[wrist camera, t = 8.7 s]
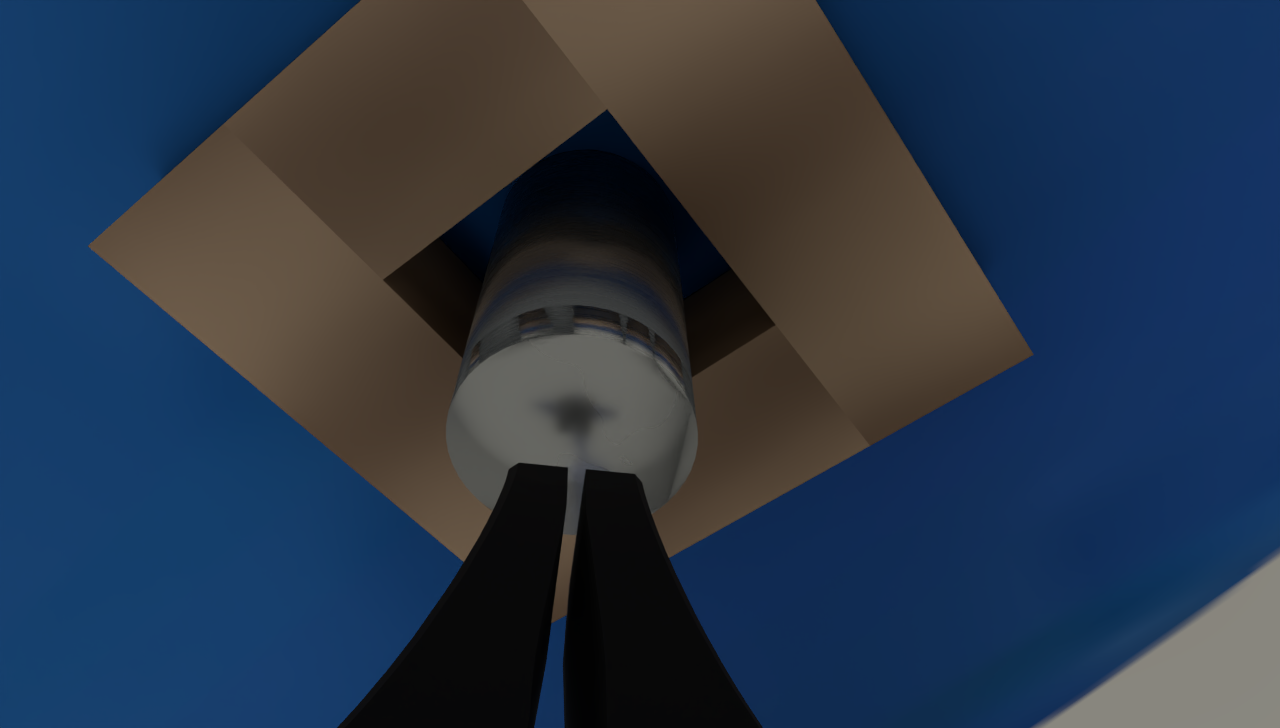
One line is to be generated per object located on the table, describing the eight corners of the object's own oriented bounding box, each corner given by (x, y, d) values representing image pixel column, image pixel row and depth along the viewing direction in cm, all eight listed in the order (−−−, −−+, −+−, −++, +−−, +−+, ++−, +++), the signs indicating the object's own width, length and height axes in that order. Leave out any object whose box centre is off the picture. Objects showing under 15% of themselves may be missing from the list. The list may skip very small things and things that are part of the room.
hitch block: (980, 281, 20) (1033, 354, 17) (550, 536, 24) (542, 627, 21) (647, -257, 15) (653, -264, 12) (160, 181, 18) (87, 246, 16)
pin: (708, 252, 19) (745, 464, 14) (571, 337, 21) (550, 567, 15) (607, 114, 18) (599, 287, 12) (464, 215, 19) (392, 418, 13)
